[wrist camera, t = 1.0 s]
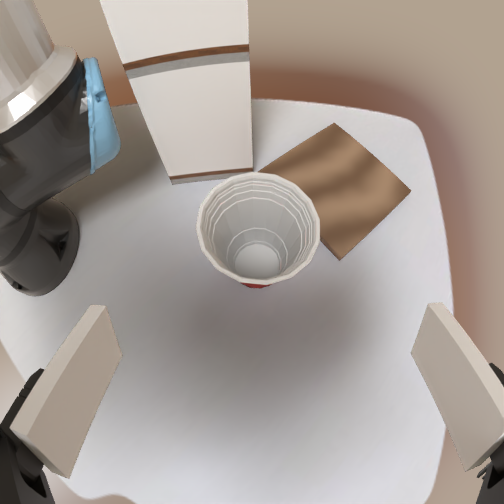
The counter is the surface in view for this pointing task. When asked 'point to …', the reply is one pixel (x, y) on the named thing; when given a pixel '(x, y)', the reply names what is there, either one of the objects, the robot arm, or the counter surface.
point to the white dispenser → (189, 81)
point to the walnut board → (341, 186)
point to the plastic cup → (258, 228)
